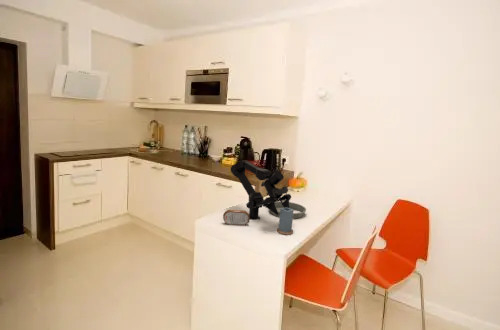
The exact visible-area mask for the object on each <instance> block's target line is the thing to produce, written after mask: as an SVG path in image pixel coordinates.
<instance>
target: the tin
mask: <svg viewBox="0 0 500 330" xmlns="http://www.w3.org/2000/svg"><path fill="white" fill-rule="evenodd" d="M222 220H223V222H224V223H225V224H227V225H229V224H232V226H246V225H247V224H249V222H250V220H251V219H250V216H249V212H248V211H246V210H241V209H227V210H225V211H224V212H223V215H222Z"/></svg>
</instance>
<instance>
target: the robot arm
mask: <svg viewBox="0 0 500 330" xmlns="http://www.w3.org/2000/svg"><path fill="white" fill-rule="evenodd" d="M246 170H247V171H249V172H250V173H253V174H254V175H255V177H256V179H258V180H259V181H262V182H261V184H260V185H261V187H264V189H265V190H266V196H269V197H266V198H264V196H263V195H262V193H261V192H260V191H256V190H255V188H254V186H253V185H252V183H251V182H250V180H249V178H248V177H247V175H246ZM230 173H231V174H232V175H233V176H234V177H236V178H237V179H238V180H239V182H240V183H241V185H242V187H243V189H244V190H245V192H246V194H247V196H248V202H247V203H246V205H245V206H246V208H247V209H249V210H248V211H249V212H248V214H249V216H250V219H249V220H256V219H259V220H260V219H261V217H260V215H259V213H260V208H263V207H264V208H267V210H270V212H271V211H272V212H273V213H275V214H276V215H279V214H278V211H277V209H276V207H275V202H279V201H280V202H281V203H282V205H283V207H284V208H286V207H287V208H289V202H290V201H291V198H292V196H291V194H290V193H288V192H289V189H288V187H287V186H286V185H285V186H283V187H281V188H279V187H276V186H277V185H278V184H279V183H280V182H282V181H283V179H284V174H283V173H282V172H280V171H279V170H278V169H274V170H273V172H271V171H270V170H269V169H266V168H261V167H259V166H257V165H255V164H253V162H250V161H249V160H248V159H247V160H246V159H245V160H241V161H239V162H238V163H235V164H232V165H231V167H230Z"/></svg>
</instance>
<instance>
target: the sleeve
mask: <svg viewBox="0 0 500 330" xmlns="http://www.w3.org/2000/svg"><path fill="white" fill-rule="evenodd" d="M294 212H295V211H294V210H292V209H290V208H287V207H286V208H282V209H280V217H279V219H278V220H279V221H278V228H279V230H280V231H282V232H284V233H286V232H290V231H291V230H293V229H292V227H293V213H294Z"/></svg>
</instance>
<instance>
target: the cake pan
mask: <svg viewBox="0 0 500 330" xmlns="http://www.w3.org/2000/svg"><path fill="white" fill-rule="evenodd" d="M275 207H276V209H277V211H278V214H279V215H276V214H275V213H273V212H272V211H271V210H270V214H272V216H276V217H278V218H280V209H282V208H284V207H283V205H282V203H281V202H280V201H277V202H275ZM289 208H290V209H292V210H294V211H293V219H294V220H295V219H300V218H303V216H304V214H305V213H306V212H307V208H306V207H305V206H304V205H302V204H299V203H295V202H292V201H289ZM295 211H296V212H295Z"/></svg>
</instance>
